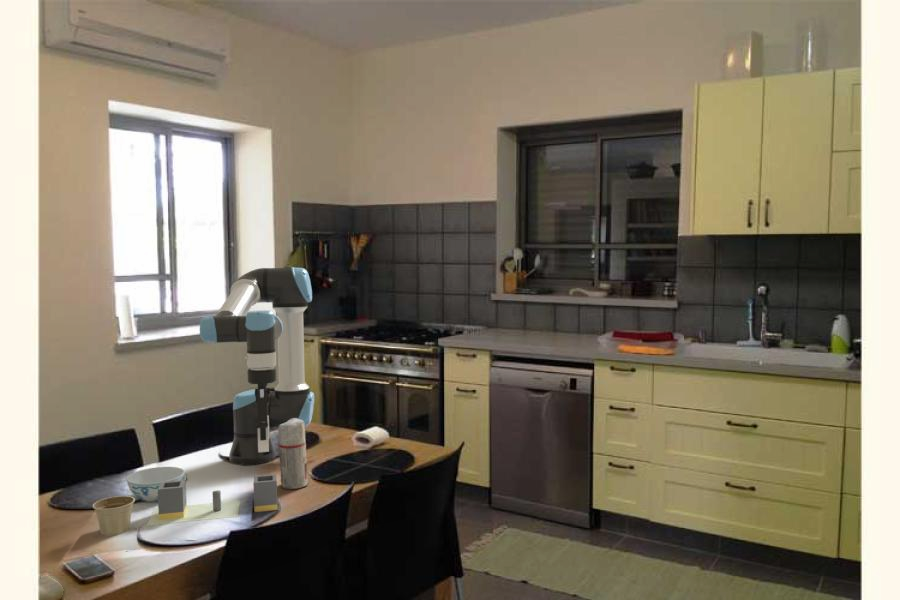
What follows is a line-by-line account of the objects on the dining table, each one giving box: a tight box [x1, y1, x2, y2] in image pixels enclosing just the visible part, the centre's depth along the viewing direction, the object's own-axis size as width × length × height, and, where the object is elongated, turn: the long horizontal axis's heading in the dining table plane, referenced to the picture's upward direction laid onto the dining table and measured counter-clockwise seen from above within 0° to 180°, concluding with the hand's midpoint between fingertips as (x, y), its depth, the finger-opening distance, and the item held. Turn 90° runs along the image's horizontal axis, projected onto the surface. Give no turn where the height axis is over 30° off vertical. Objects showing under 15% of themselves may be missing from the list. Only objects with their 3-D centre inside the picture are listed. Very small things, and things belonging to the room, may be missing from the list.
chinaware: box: [126, 466, 185, 503], centre depth 195 cm, size 15×15×8 cm
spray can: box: [277, 418, 309, 490], centre depth 207 cm, size 8×8×20 cm
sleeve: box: [253, 473, 278, 513], centre depth 190 cm, size 6×6×8 cm
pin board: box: [146, 490, 241, 527], centre depth 183 cm, size 12×22×6 cm, turn 104°
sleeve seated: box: [157, 479, 188, 520], centre depth 181 cm, size 6×6×8 cm
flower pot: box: [92, 495, 136, 537], centre depth 171 cm, size 9×9×9 cm
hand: (264, 445), depth 189 cm, fingers open, 13 cm apart
